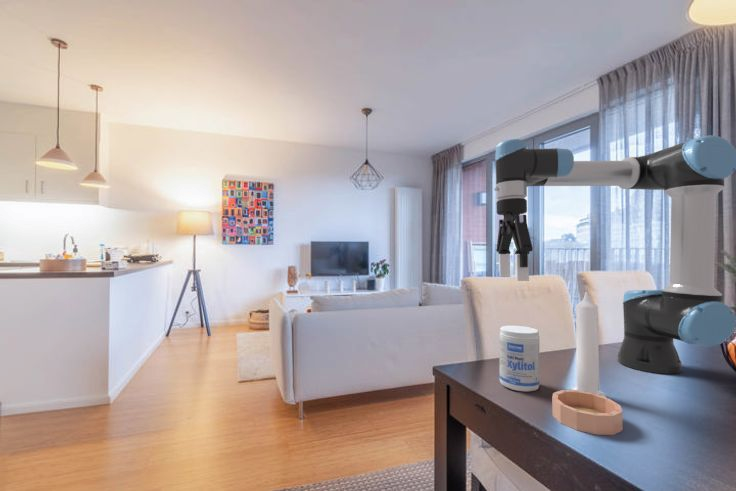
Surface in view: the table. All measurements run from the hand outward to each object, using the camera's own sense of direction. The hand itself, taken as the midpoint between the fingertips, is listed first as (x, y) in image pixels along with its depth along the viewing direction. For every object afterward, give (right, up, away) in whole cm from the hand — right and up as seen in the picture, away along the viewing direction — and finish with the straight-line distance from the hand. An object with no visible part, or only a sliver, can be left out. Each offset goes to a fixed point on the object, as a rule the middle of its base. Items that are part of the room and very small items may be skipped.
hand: (513, 278), depth 91 cm
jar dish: (+6, -27, -20) cm, 35 cm away
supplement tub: (+1, -28, -2) cm, 28 cm away
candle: (+15, -28, -8) cm, 32 cm away
